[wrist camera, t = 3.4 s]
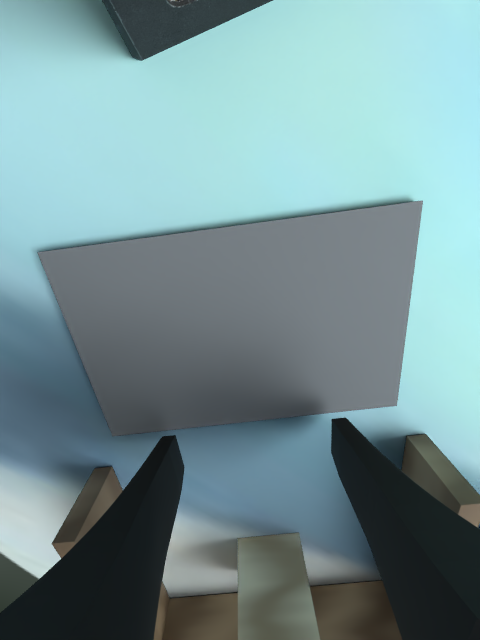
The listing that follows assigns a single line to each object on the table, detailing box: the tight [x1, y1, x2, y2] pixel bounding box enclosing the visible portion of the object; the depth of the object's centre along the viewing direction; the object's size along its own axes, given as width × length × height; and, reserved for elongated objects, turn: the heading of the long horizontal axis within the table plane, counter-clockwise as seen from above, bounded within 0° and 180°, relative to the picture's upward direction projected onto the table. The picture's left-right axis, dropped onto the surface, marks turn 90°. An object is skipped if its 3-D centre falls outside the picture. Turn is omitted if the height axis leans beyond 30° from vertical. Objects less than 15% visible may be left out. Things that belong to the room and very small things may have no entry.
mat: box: [37, 201, 423, 436], centre depth 11 cm, size 14×9×1 cm, turn 97°
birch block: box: [238, 533, 320, 640], centre depth 15 cm, size 4×4×5 cm
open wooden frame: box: [52, 434, 480, 640], centre depth 15 cm, size 18×15×4 cm
